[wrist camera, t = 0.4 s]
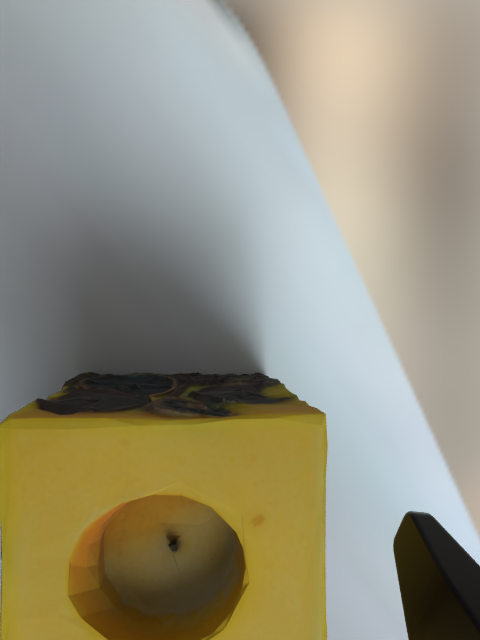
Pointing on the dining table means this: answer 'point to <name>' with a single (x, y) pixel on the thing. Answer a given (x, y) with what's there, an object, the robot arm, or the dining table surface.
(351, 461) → the dining table surface
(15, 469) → the candle
